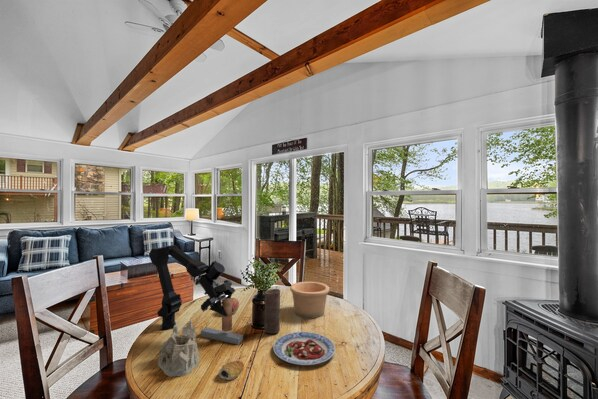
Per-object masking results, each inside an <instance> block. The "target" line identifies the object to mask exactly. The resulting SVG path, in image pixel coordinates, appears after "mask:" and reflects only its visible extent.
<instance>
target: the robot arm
mask: <svg viewBox="0 0 598 399" xmlns="http://www.w3.org/2000/svg"><path fill="white" fill-rule="evenodd" d="M148 256H149V259H150V262H151V264H153V265H154V266H155V267H156V271H157V275H158V279H159V283H160V287H161V291H162V294H163V296H162V298H161V307H160V309H159V310H158V311H157V312H156V314H157V317H160V318H161V321H162V322H161V324H160V331H163V330H171V329H173V327H174V325H177V322H176V313H178V312H179V311H180V309H181V307H182V302H183V300H182V298H181V294H180V293H176V292H175V289H174V285H173V281H172V277H171V272H170V270H169V266H168V262H169V259H170V257H172V258H173V259H174V260H176V261H177V262H178V263H179V264H180V265H182V266H183V267H185V269H186V272H187V274H189V275H190V276H191V277H192V278H196V279H195V286H197V285H200V286H201V287H202V288H203V290H204V292H203V294H204V295H205V296H206V295H207V296H208V298H206V299H205V300H204V301H203V303H202V304H201V305H200V310H201V311H202V312H203V313H204V312H205V311H208V310H209V311H213V312H214V313H218V314H220V315H221V316H222V315H223V316H225V317H226V316H227V313H226V311H225V310H224V308H223V306H222V300H223V299H231V298H232V295H233V294H234V293H235V292H236V289H235V288H234V287H232V285H233V282H232V281H231V280H230V279H229V278H228V279H225V280H223V283H222V284H221V283H219V282H216V280H218V278H219V277H221V276H222V274H223V273H224V272H225V271H226V268H225V266H224V265H223V264H222V263H220V262H218V261H216V260H214V261H212V262H211V264H210V265H207V263H204V262H203V261H201V260H199V259H194V258H193V257H191V256H189V255H188V254H187V253H186V252H185V251H183V250H182V249H180V248H179V247H178V245H176V244H171V245H167V246H162V247H161V246H160V247H156V248H152V249H150V250H149V252H148ZM232 312H233V307H232Z"/></svg>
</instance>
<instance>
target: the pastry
mask: <svg viewBox="0 0 598 399" xmlns="http://www.w3.org/2000/svg"><path fill="white" fill-rule="evenodd" d="M244 368H245V364H244V362H242V361H241V360H234V361H230V362H227V363H225V364H223V365H222V366H221V368H220V370H219V372H217V373H218V376H219V378H220V379H223V380H227V381H233V380H235V379H236V378H238V377H239V376H240V375H241V374H242V372H243V370H244Z"/></svg>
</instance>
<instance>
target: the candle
mask: <svg viewBox="0 0 598 399" xmlns="http://www.w3.org/2000/svg"><path fill="white" fill-rule="evenodd" d="M280 314H281V290H280V289H279V288H269V289H266V291H265V292H264V326H263V327H264V328H263V329H264V332H265V333H267V334H276V333H279V332H280V329H281V315H280Z"/></svg>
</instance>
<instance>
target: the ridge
mask: <svg viewBox="0 0 598 399" xmlns="http://www.w3.org/2000/svg"><path fill="white" fill-rule="evenodd" d="M200 337H203V338H208V339H212V340H216V341H220V342H225V343H230V344H233V345H240V344H241V343H242V342H243V340H244V335H243V334H240V333H234V332H230V331H227V332H225V331H222V329H215V328H213V327H212V328H211V327H204V328H203V329H201V330H200Z"/></svg>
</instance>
